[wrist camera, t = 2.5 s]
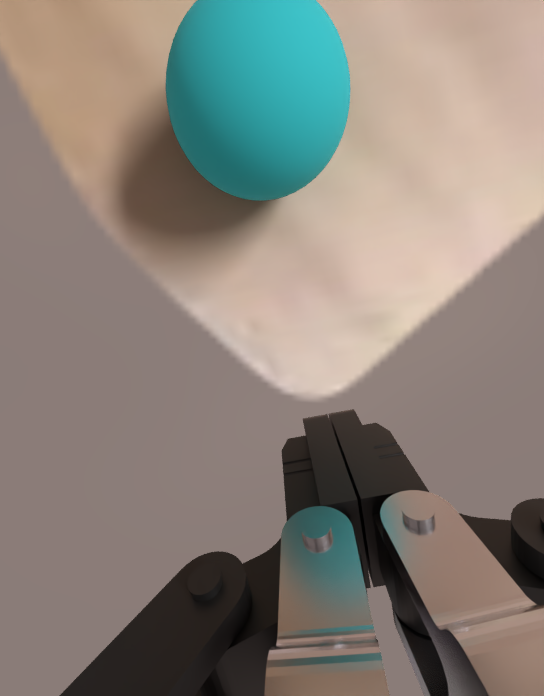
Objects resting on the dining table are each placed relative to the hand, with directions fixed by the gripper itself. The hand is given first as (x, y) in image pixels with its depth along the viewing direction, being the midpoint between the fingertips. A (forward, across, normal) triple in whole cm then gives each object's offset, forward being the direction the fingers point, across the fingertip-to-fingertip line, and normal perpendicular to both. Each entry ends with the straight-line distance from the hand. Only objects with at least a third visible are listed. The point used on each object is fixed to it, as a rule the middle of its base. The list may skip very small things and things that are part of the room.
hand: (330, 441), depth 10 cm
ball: (+5, 0, -10) cm, 11 cm away
